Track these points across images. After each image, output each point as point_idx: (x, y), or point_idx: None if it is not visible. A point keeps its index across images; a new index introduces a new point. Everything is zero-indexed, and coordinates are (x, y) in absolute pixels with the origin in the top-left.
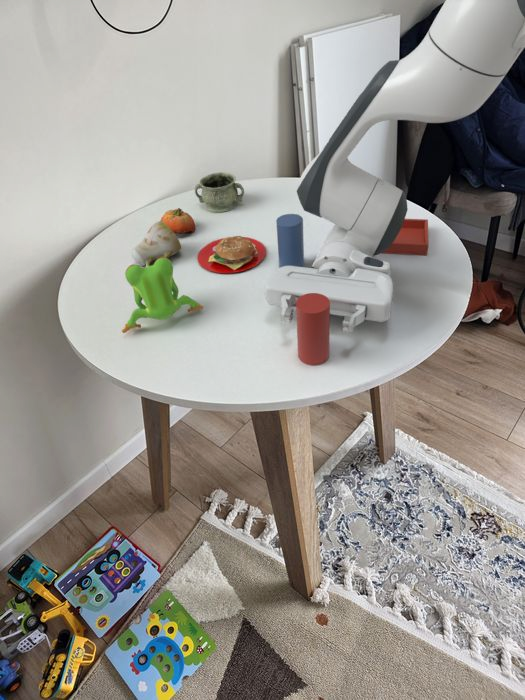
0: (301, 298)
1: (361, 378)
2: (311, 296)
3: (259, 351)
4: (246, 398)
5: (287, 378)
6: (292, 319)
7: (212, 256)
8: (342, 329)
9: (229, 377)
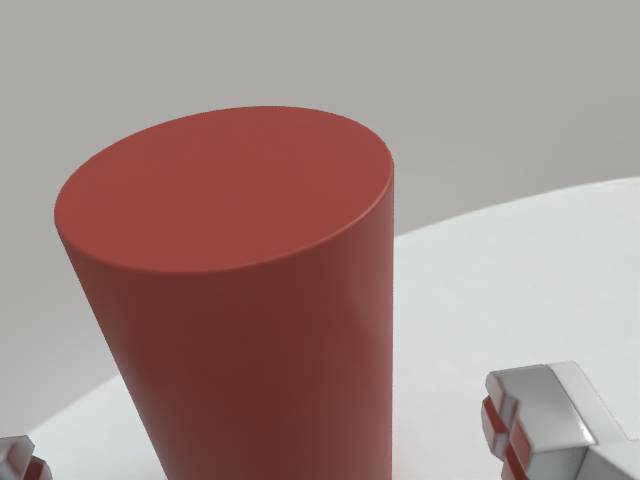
0: (359, 169)
1: None
2: (271, 214)
3: None
4: (432, 234)
5: None
6: (501, 477)
7: None
8: (43, 464)
9: (557, 268)
